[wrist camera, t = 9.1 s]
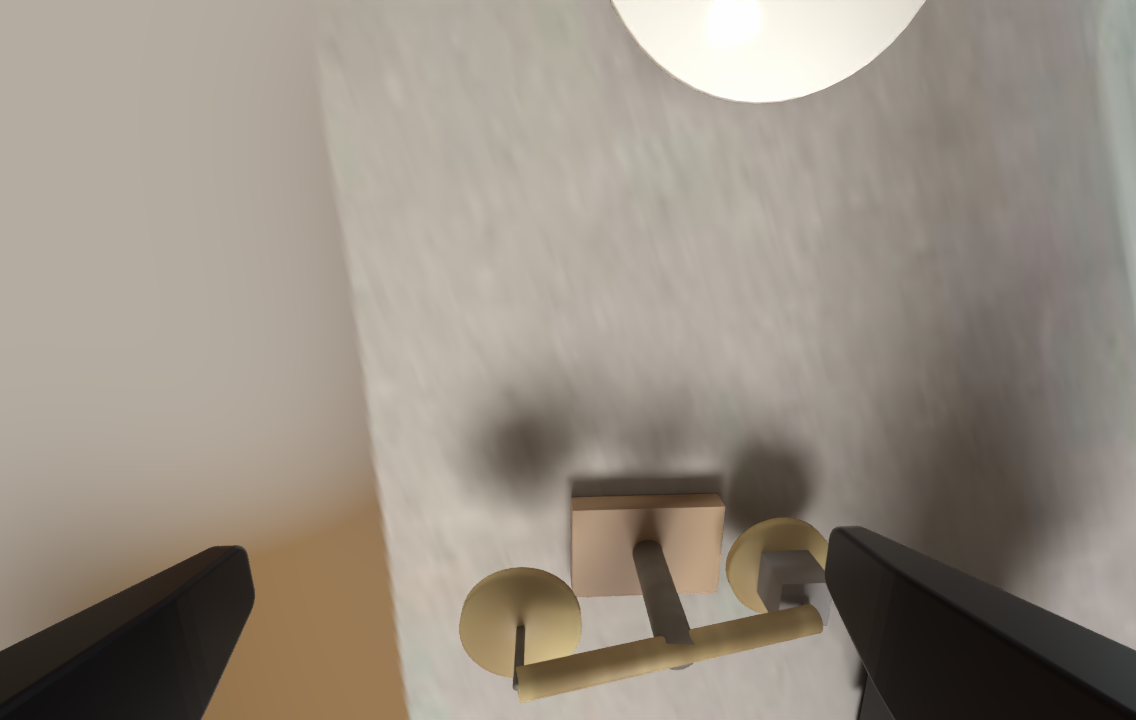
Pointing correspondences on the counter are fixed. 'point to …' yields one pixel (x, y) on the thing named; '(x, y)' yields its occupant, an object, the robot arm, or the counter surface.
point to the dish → (763, 42)
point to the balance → (646, 593)
